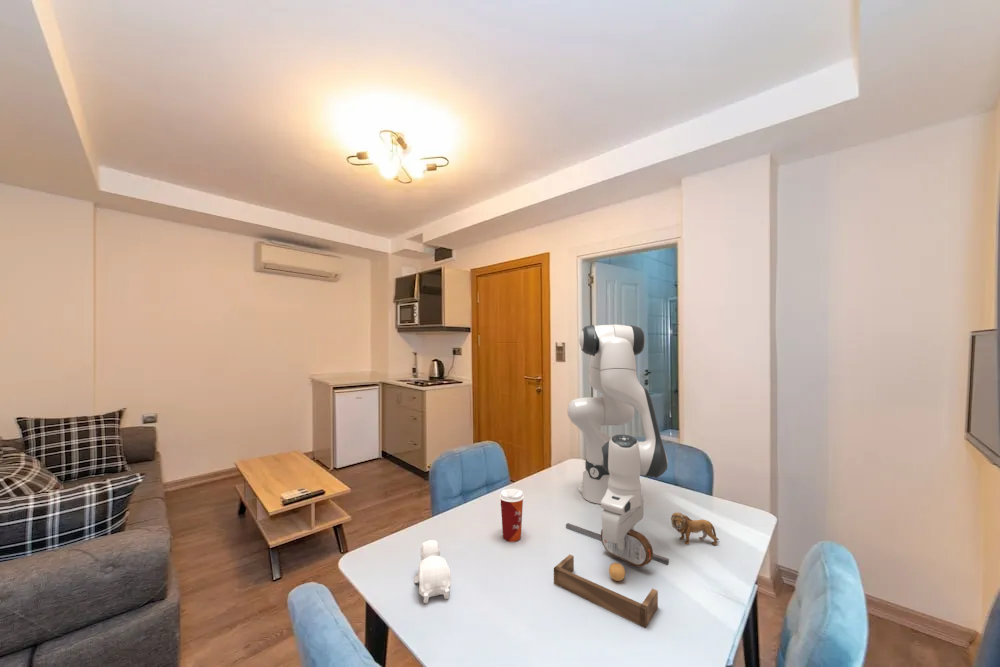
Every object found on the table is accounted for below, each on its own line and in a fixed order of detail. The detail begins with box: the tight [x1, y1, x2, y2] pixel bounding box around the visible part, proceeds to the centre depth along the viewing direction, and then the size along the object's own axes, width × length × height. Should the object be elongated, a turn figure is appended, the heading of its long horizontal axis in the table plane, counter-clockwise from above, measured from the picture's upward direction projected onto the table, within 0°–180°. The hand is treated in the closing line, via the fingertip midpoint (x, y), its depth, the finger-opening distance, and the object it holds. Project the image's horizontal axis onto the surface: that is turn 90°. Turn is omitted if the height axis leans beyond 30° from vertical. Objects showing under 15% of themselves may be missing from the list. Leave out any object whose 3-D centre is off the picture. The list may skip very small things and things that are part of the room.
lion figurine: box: [670, 512, 720, 546], centre depth 118 cm, size 15×5×9 cm, turn 93°
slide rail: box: [565, 522, 670, 566], centre depth 117 cm, size 1×32×1 cm, turn 50°
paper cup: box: [499, 488, 525, 543], centre depth 121 cm, size 8×8×14 cm
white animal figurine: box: [413, 539, 452, 604], centre depth 98 cm, size 9×8×15 cm
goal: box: [553, 554, 659, 629], centre depth 94 cm, size 8×23×4 cm, turn 50°
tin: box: [600, 529, 654, 568], centre depth 107 cm, size 15×3×8 cm, turn 41°
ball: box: [608, 562, 626, 582], centre depth 100 cm, size 4×4×4 cm
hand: (624, 545), depth 108 cm, fingers closed on tin, 3 cm apart
